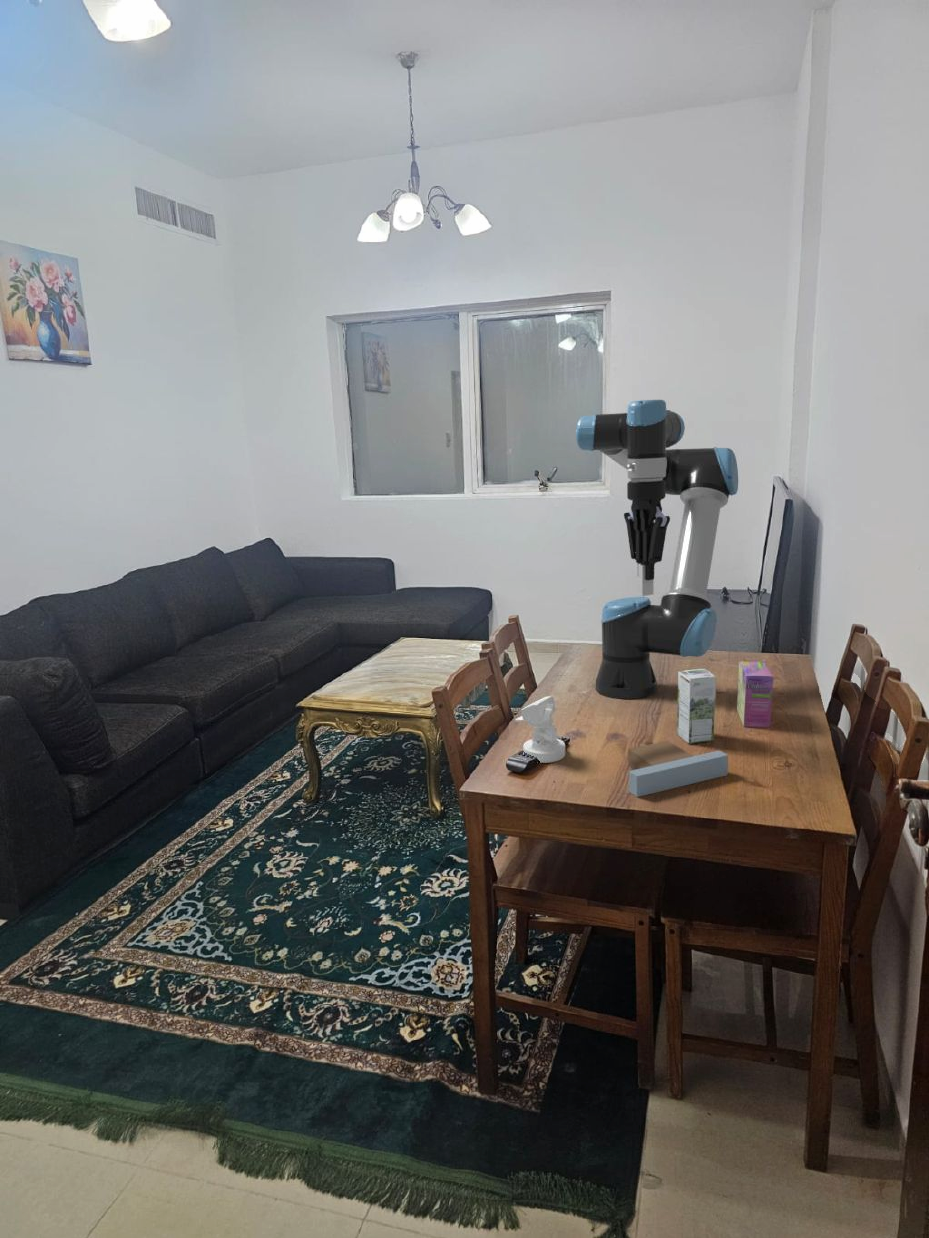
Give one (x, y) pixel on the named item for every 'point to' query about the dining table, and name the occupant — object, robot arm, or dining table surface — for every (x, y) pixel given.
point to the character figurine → (542, 731)
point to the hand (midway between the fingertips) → (645, 594)
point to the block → (654, 755)
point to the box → (754, 694)
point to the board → (678, 773)
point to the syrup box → (696, 705)
